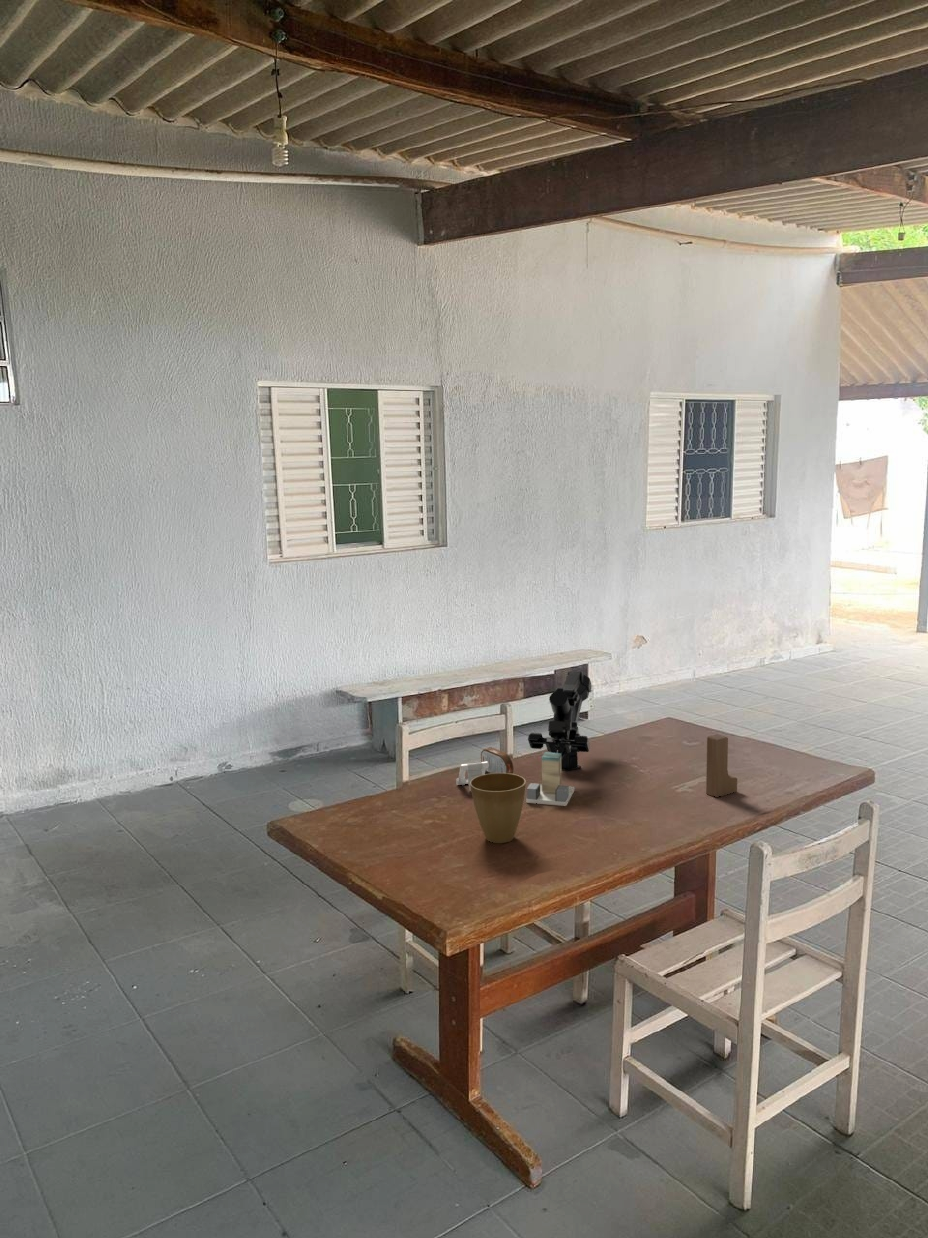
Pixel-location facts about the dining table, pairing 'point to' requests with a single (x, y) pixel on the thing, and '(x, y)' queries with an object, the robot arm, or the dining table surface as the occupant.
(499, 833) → the plant pot
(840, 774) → the dining table surface
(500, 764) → the tin
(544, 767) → the peg
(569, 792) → the block holder base
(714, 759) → the wooden block
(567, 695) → the robot arm
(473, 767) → the portable electronic device stand
